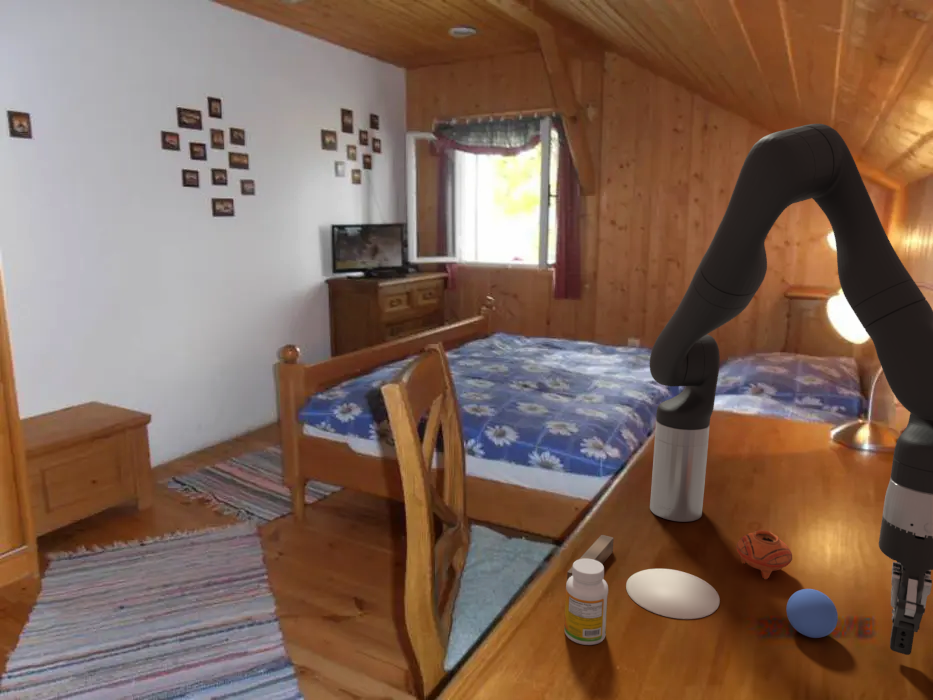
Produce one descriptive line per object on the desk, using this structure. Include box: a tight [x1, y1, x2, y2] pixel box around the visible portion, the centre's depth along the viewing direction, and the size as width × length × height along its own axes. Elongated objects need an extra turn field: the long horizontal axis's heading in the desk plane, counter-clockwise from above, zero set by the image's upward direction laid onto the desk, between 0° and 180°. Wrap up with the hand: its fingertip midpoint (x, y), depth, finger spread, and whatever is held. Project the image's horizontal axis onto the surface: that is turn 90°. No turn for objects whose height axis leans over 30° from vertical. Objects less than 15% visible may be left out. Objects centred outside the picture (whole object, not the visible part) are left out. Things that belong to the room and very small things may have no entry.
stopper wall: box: [566, 534, 615, 581], centre depth 105 cm, size 14×2×2 cm, turn 148°
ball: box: [786, 588, 839, 639], centre depth 89 cm, size 6×6×6 cm
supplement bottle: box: [563, 558, 609, 646], centre depth 88 cm, size 5×5×10 cm
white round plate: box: [625, 568, 721, 620], centre depth 99 cm, size 13×13×1 cm
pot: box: [736, 529, 793, 580], centre depth 105 cm, size 8×8×7 cm
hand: (900, 649), depth 84 cm, fingers closed
